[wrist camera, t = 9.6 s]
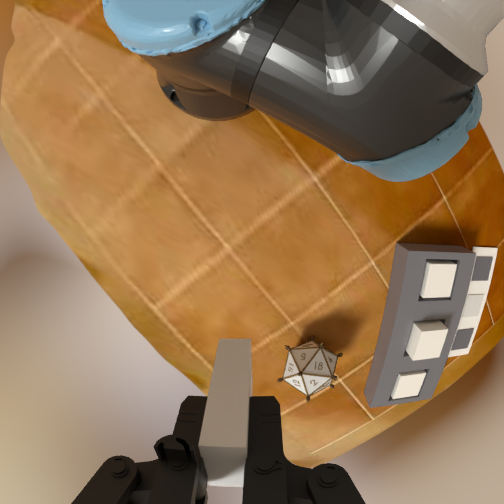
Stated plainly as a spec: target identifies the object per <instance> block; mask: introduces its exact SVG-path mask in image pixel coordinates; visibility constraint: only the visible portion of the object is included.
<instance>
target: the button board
mask: <svg viewBox="0 0 504 504" xmlns="http://www.w3.org/2000/svg"><path fill="white" fill-rule="evenodd" d="M475 257H476V253H475V252H473V251H471V250H469V249H467V248H465V247H463V246H455V245H435V244H414V243H396V246H395V253H394V260H393V266H392V273H391V279H390V284H389V290H388V295H387V300H386V305H385V310H384V315H383V320H382V324H381V329H380V333H379V337H378V341H377V346H376V350H375V353H374V357H373V361H372V365H371V369H370V372H369V376H368V379H367V383H366V386H365V390H364V394H365V397H366V399H367V402H368V404H369V407H370V408H372V407H380V406H388V405H395V404H401V403H408V402H414V401H419V400H425V399H430V398H431V397H432V395H433V393H434V391H435V388H436V386H437V383H438V381H439V379H440V376H441V374H442V371H443V368H444V366H445V363H446V360H447V358H448V355H449V352H450V349H451V346H452V344H453V341H454V338H455V335H456V331H457V328H458V325H459V322H460V318H461V315H462V312H463V308H464V304H465V301H466V297H467V293H468V289H469V285H470V281H471V276H472V272H473V267H474V262H475ZM426 259H447V260H451V261H452V262H454V263H456V264H457V267H456V272H455V277H454V281H453V286H452V290H451V294H450V297H437V298H423V297H421V296H420V290H421V285H422V280H423V275H424V270H425V265H426ZM427 320H440V321H441V322H442V323H443V324H444V325H445V326H446V327H447V328H448V332H447V335H446V338H445V342H444V345H443V348H442V350H441V353H440V356H439V357H437V358H430V359H422V360H414V361H413V360H412V359H411V357H410V356H409V354H408V353H407V352H406V350H405V349H406V346H407V342H408V339H409V335H410V331H411V328H412V324H413V321H427ZM417 370H425V372H426V375H425V378H424V380H423V383H422V386H421V388H420V391H419V393H418V395H416V396H410V397H404V398H397V399H392V397H391V392H392V389H393V386H394V384H395V381H396V378H397V375H398V373H401V372H409V371H417Z"/></svg>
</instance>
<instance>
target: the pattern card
mask: <svg viewBox="0 0 504 504" xmlns="http://www.w3.org/2000/svg"><path fill="white" fill-rule="evenodd" d="M497 249H498V248H491V247H474V246H473V247H472V251H473V252H475V253H476V257H475V262H474V267H473V272H472V276H471V281H470V285H469V289H468V293H467V297H466V301H465V304H464V308H463V312H462V315H461V318H460V322H459V325H458V328H457V331H456V335H455V338H454V341H453V344H452V346H451V349H450V352H449V355H448V357H452V356H458V355H464V354H468V353H469V350H470V347H471V345H472V342H473V339H474V336H475V333H476V330H477V327H478V324H479V321H480V318H481V314H482V311H483V308H484V304H485V301H486V297H487V293H488V290H489V286H490V282H491V278H492V273H493V269H494V264H495V259H496V255H497Z"/></svg>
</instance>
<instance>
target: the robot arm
mask: <svg viewBox="0 0 504 504" xmlns="http://www.w3.org/2000/svg"><path fill="white" fill-rule="evenodd" d="M102 4H103V10H104V17H105V20H106V22H107V24H108V26H109V27H110V29H111V30H112V31H113V32H114V33H115V34H116V36H117V37H118V39H119V41H120V42H122V45H123V46H124V47H126V48H129V50H130V51H132V52H134V53H137V54H138V55H139V56H141V57H142V58H143V59H144V60H145V61H147V62H148V63H149V64H150V65H152V66H153V67H154V68H155V69H156V71H157V78H158V81H159V84H160V87H161V89H162V91H163V92H164V94H165V95H166V97H167V98H168V99H169V100H170V101H171V102H172V103H173V104H174V105H175V106H176V107H178V108H179V109H181V110H182V111H184V112H185V113H187V114H189V115H191V116H193V117H196V118H199V119H204V120H210V121H224V120H231V119H235V118H238V117H241V116H244V115H246V114H248V113H250V112H252V111H254V110H255V109H257V110H259V111H261V112H263V113H265V114H267V115H269V116H271V117H273V118H275V119H277V120H278V121H280V122H282V123H284V124H286V125H288V126H290V127H292V128H294V129H295V130H297V131H299V132H301V133H303V134H304V135H306V136H308V137H310V138H312V139H313V140H315V141H317V142H319V143H320V144H322V145H324V146H325V147H327V148H329V149H331V150H332V151H334V152H336V154H337V155H338V156H339V157H340V158H341V159H342V160H344V161H345V162H347V163H351V164H352V165H356V166H360V167H361V168H363V169H365V170H367V171H368V172H370V173H372V174H373V175H375V176H377V177H379V178H381V179H384V180H388V181H393V182H403V181H410V180H414V179H417V178H420V177H423V176H425V175H427V174H429V173H431V172H433V171H434V170H436V169H438V168H439V167H441V166H442V165H444V164H445V163H446V162H448V161H449V160H450V159H451V158H452V157H453V156H455V155H456V153H457V152H458V151H459V150H460V149H461V148H462V147H463V146H464V145H465V143H466V142H467V141H468V139H469V136H468V133H467V132H468V131H469V130H470V129H473V128H475V127H476V126H477V124H478V121H479V118H480V115H481V111H482V97H481V93H480V91H479V88H478V85H477V82H479V80H480V79H481V78H482V77H483V76H484V75H485V74H486V73H487V72H488V65H487V57H486V49H485V42H486V37H487V35H488V34H489V33H490V32H491V31H492V30H493V29H494V27H496V25H497V24H498V23H499V22H500V21H501V20H502V19H503V17H504V0H102ZM252 383H253V381H252V355H251V339H219V343H218V348H217V353H216V358H215V363H214V368H213V373H212V378H211V383H210V388H209V393H208V397H206V396H205V397H204V396H188V397H187V398H186V399H185V400H184V401H183V402H182V404H181V406H180V410H179V415H178V417H177V422H176V424H175V428H174V431H173V435H168V436H165V437H162V438H161V439H159V440H158V441H157V442H156V444H155V445H154V449H155V451H156V453H157V456H158V458H159V459H156V460H153V461H149V462H140V463H135V462H134V461H133V460H132V459H130V458H129V457H126V456H114V457H111V458H109V459H107V460H106V461H105V462H104V463H103V465H102V466H101V467H100V468H99V470H98V471H97V472H96V473H95V475H94V476H93V477H92V478H91V480H90V481H89V482H88V483H87V485H86V486H85V487H84V489H83V490H82V491H81V492H80V494H79V495H78V496H77V497H76V499H75V500H74V501H73V502H72V504H207V500H208V496H207V491H206V488H207V481H208V483H209V485H211V486H231V487H243V502H242V504H365V502H364V500H363V499H362V497H361V495H360V493H359V492H358V490H357V489H356V487H355V485H354V483H353V482H352V480H351V478H350V476H349V475H348V473H347V472H346V471H345V469H344V468H343V467H341V466H339V465H336V464H331V463H327V464H321V465H318V466H316V467H314V468H313V469H310V468H305V467H300V466H297V465H294V464H292V463H291V462H290V461H288V460H287V459H286V457H285V455H284V452H283V441H282V427H281V414H280V404H279V403H278V401H277V400H276V398H275V397H274V396H253V397H252Z"/></svg>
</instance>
